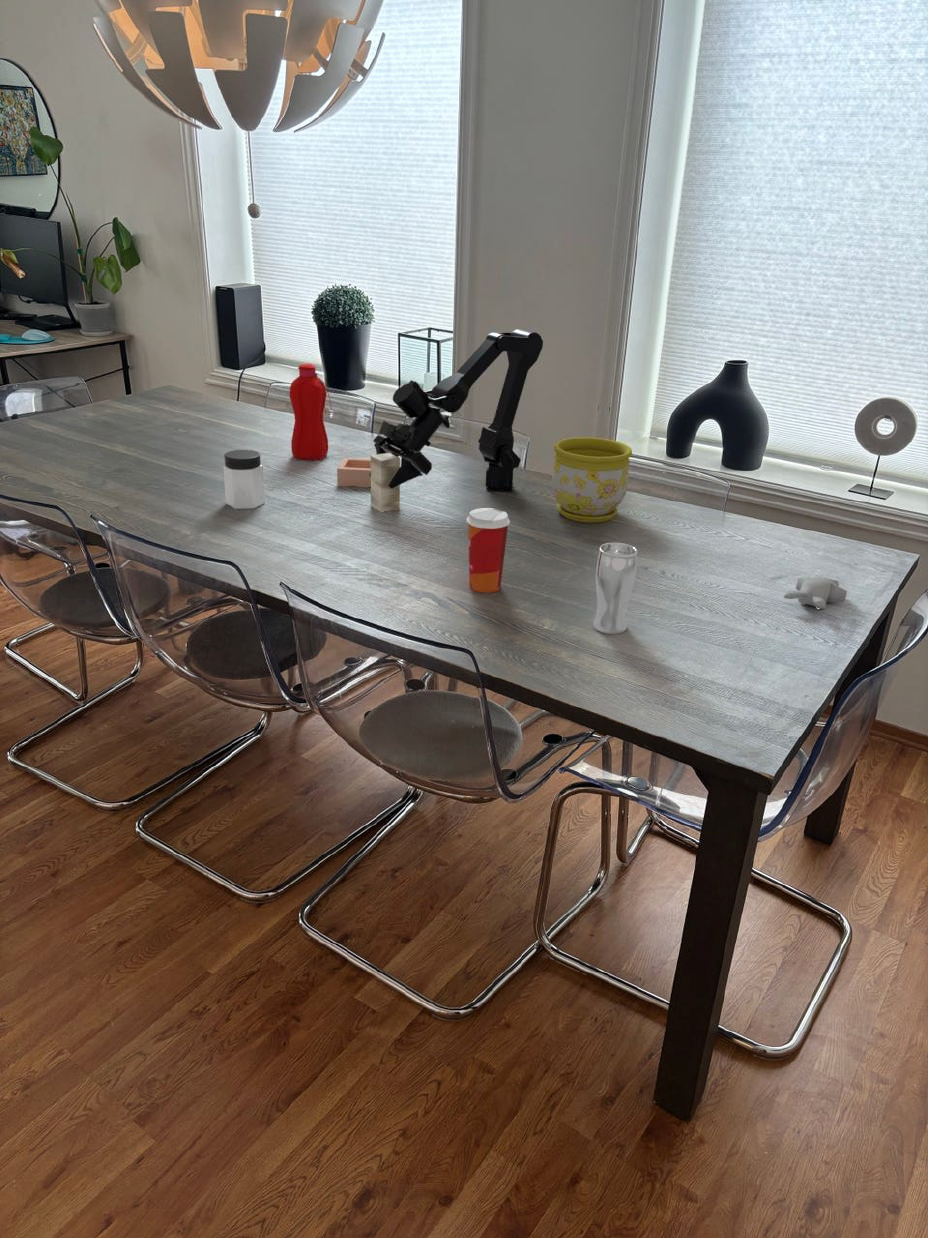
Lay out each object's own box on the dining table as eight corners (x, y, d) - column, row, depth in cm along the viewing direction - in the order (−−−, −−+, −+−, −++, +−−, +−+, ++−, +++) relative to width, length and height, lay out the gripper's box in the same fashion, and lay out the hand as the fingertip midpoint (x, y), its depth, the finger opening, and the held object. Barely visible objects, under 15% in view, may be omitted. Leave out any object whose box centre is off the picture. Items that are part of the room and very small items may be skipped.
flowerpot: (568, 497, 238) (574, 432, 231) (635, 511, 230) (643, 445, 223) (535, 516, 224) (540, 448, 217) (606, 532, 216) (614, 462, 209)
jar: (224, 509, 220) (220, 459, 215) (227, 498, 228) (224, 449, 223) (263, 509, 222) (260, 459, 217) (265, 498, 229) (262, 449, 224)
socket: (381, 476, 248) (381, 459, 246) (376, 487, 239) (376, 470, 237) (343, 474, 249) (343, 457, 247) (337, 485, 240) (337, 468, 238)
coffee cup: (481, 575, 190) (484, 503, 184) (514, 586, 186) (519, 513, 179) (454, 587, 184) (457, 514, 178) (488, 599, 180) (491, 524, 173)
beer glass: (625, 618, 174) (634, 542, 168) (632, 635, 168) (642, 557, 162) (587, 618, 174) (595, 541, 167) (593, 635, 168) (601, 556, 161)
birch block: (389, 503, 229) (389, 452, 223) (399, 509, 225) (400, 457, 220) (370, 506, 226) (370, 455, 221) (381, 512, 222) (381, 460, 217)
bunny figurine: (855, 580, 185) (832, 595, 173) (849, 604, 187) (825, 621, 175) (807, 567, 190) (781, 581, 179) (801, 591, 192) (775, 606, 180)
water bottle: (327, 462, 258) (325, 369, 247) (288, 459, 259) (284, 366, 248) (337, 453, 266) (335, 362, 255) (299, 450, 267) (295, 360, 256)
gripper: (380, 400, 225) (339, 451, 224) (421, 417, 211) (378, 472, 210) (408, 429, 232) (369, 479, 231) (450, 447, 218) (408, 500, 217)
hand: (380, 481), depth 222 cm, fingers open, 9 cm apart
